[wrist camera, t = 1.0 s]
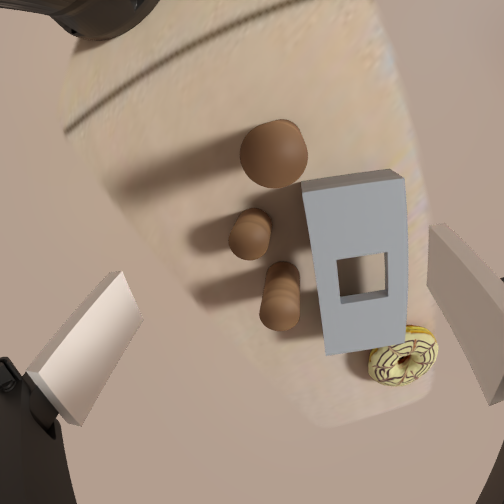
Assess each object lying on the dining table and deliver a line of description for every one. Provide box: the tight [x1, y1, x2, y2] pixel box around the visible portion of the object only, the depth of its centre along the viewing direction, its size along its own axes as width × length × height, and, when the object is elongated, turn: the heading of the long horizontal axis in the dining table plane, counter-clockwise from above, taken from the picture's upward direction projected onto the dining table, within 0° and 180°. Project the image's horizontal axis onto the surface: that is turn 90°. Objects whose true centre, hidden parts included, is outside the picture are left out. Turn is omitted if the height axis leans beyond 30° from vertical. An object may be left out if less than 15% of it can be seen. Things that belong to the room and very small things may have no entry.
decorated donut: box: [368, 325, 438, 386], centre depth 40 cm, size 10×11×4 cm
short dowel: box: [228, 208, 272, 260], centre depth 34 cm, size 4×4×5 cm
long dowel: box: [240, 119, 308, 188], centre depth 25 cm, size 4×4×15 cm
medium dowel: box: [259, 262, 300, 331], centre depth 35 cm, size 4×4×8 cm
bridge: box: [301, 169, 408, 356], centre depth 34 cm, size 20×10×5 cm, turn 12°
